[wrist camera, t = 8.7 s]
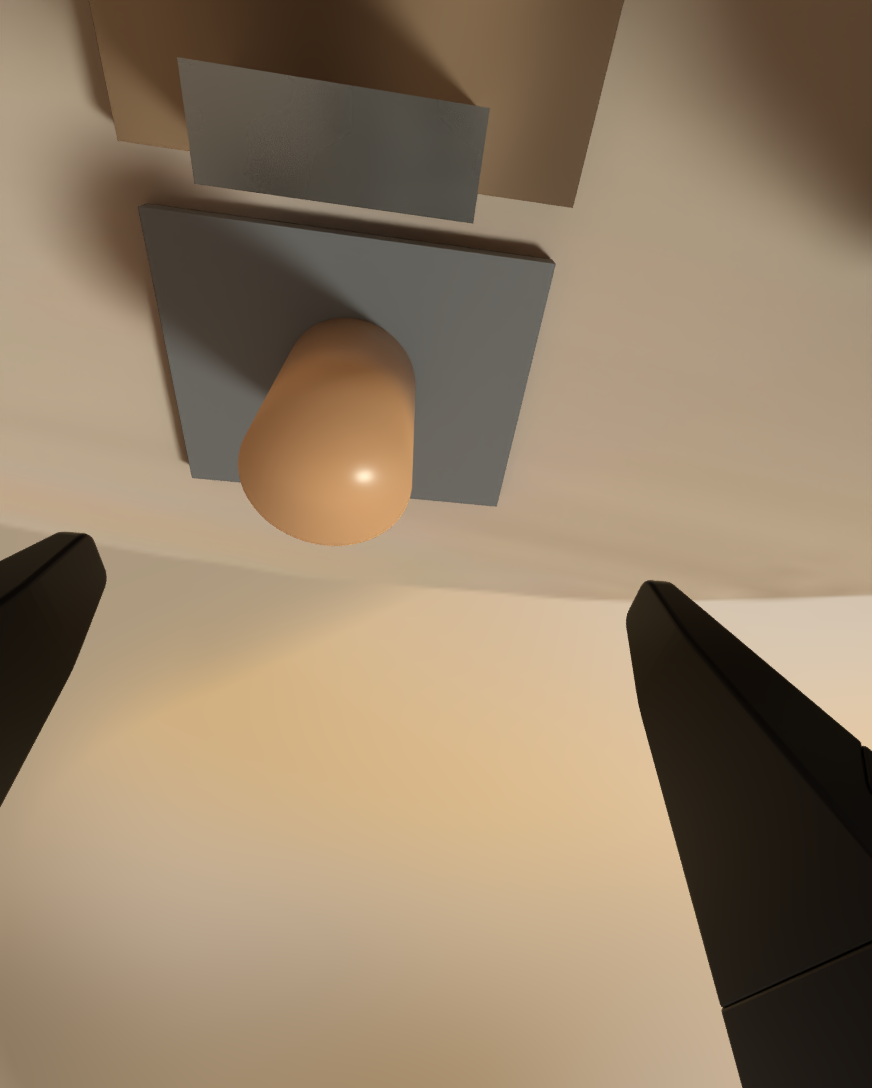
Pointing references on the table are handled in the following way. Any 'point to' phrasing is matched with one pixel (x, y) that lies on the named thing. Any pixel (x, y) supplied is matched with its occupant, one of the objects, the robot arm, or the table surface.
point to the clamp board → (384, 67)
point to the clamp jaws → (332, 141)
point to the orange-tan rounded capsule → (334, 436)
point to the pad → (346, 292)
